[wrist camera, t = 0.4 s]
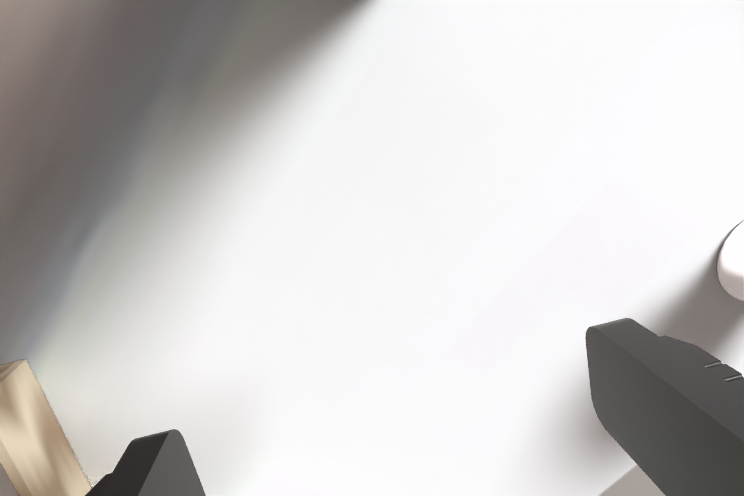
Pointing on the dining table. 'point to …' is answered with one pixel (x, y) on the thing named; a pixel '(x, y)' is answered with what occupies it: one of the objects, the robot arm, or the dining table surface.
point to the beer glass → (732, 263)
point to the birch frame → (34, 439)
